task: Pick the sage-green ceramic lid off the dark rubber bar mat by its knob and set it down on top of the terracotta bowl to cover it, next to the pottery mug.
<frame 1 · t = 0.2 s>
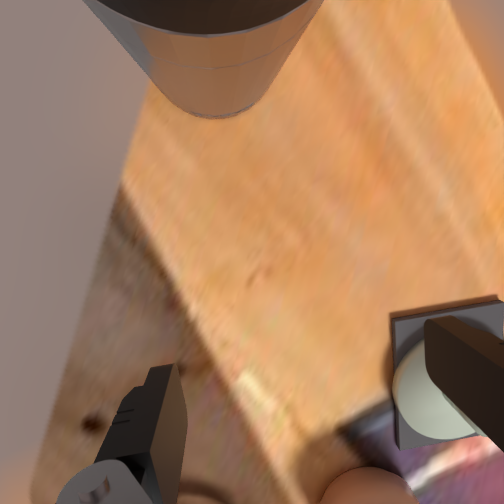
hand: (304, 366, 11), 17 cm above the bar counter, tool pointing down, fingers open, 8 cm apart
bowl: (361, 499, 36), on the bar counter
lid: (449, 380, 32), point 1 cm above the bar counter, touching bar mat
bar mat: (445, 376, 33), on the bar counter
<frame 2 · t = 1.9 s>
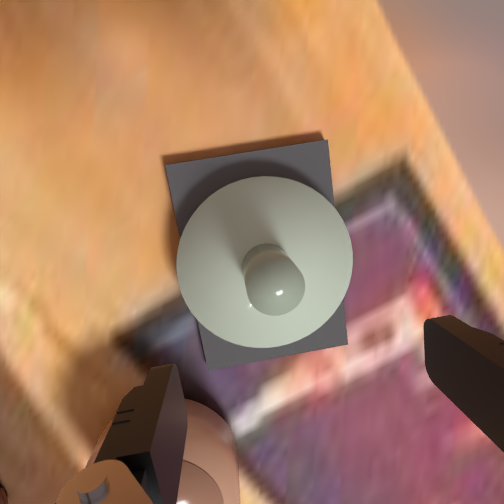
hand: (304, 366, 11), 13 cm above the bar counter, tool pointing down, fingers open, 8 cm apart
bowl: (170, 446, 26), on the bar counter
lid: (264, 262, 22), point 1 cm above the bar counter, touching bar mat
bar mat: (263, 260, 23), on the bar counter
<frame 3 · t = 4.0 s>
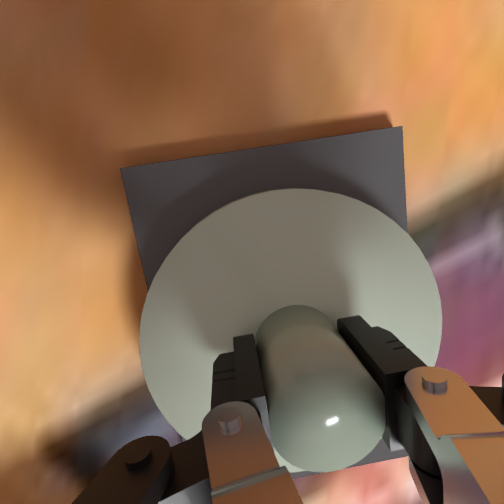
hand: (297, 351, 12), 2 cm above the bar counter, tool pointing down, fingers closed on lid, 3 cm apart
lid: (289, 329, 14), point 1 cm above the bar counter, touching bar mat, gripper
bar mat: (286, 323, 14), on the bar counter
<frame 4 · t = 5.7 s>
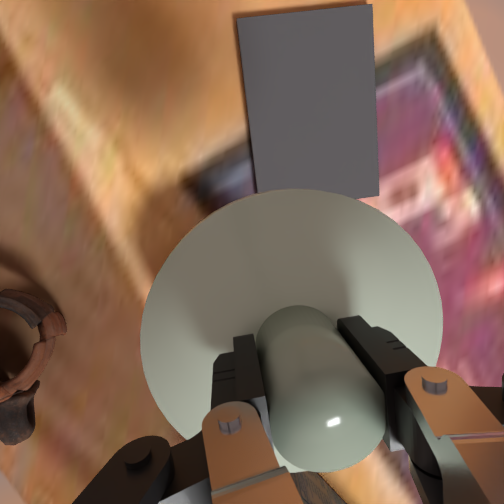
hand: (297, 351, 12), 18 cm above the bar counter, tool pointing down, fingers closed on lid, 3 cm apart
pottery mug: (21, 345, 30), on the bar counter
beverage carton: (294, 495, 36), on the bar counter
lid: (290, 330, 14), point 16 cm above the bar counter, touching gripper
bar mat: (311, 114, 27), on the bar counter
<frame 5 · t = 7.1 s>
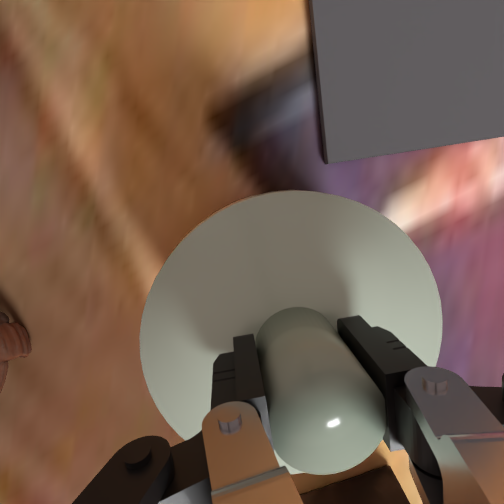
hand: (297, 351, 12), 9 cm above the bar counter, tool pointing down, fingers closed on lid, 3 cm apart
lid: (289, 331, 14), point 7 cm above the bar counter, touching gripper
bar mat: (406, 10, 18), on the bar counter
when the fingers open (7 cm above the bar counter, at t = 7.9 s): lid stays where it is, resting on bowl.
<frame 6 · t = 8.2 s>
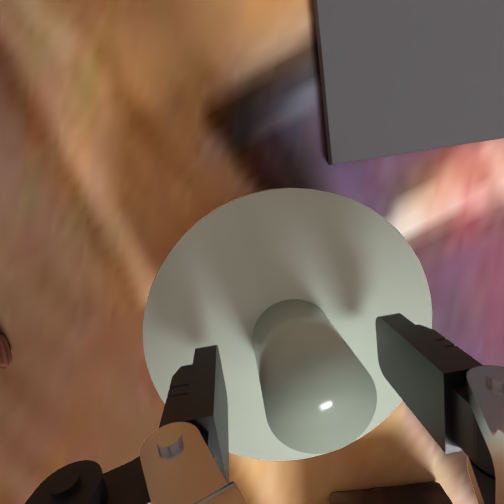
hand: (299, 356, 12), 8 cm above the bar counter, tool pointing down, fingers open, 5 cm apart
lid: (286, 323, 14), point 5 cm above the bar counter, touching bowl
bar mat: (415, 2, 17), on the bar counter
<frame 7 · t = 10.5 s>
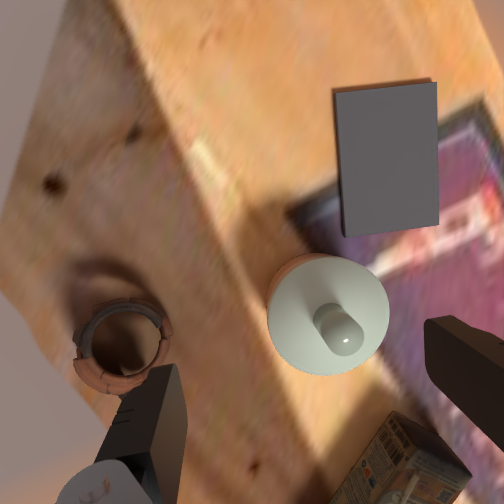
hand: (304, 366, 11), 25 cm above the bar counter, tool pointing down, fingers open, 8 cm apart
pottery mug: (133, 344, 37), on the bar counter
bowl: (311, 296, 37), on the bar counter
beverage carton: (372, 480, 42), on the bar counter
lid: (325, 314, 32), point 5 cm above the bar counter, touching bowl
bar mat: (387, 162, 35), on the bar counter
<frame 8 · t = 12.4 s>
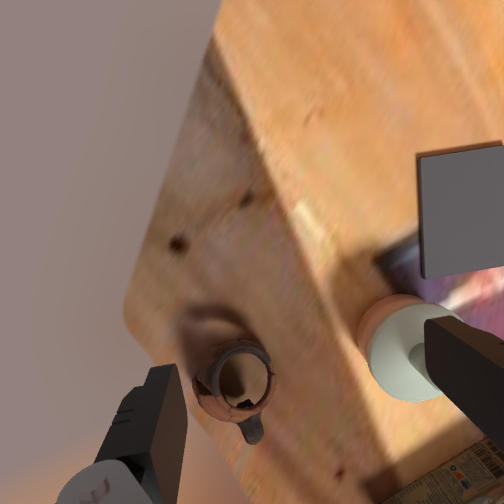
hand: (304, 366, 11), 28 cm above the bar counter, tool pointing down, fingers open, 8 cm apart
pottery mug: (234, 375, 42), on the bar counter
bowl: (393, 329, 42), on the bar counter
beverage carton: (440, 485, 49), on the bar counter
lid: (416, 350, 37), point 5 cm above the bar counter, touching bowl
bar mat: (461, 213, 40), on the bar counter
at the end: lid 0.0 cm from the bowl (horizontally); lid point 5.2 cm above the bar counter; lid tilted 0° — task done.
